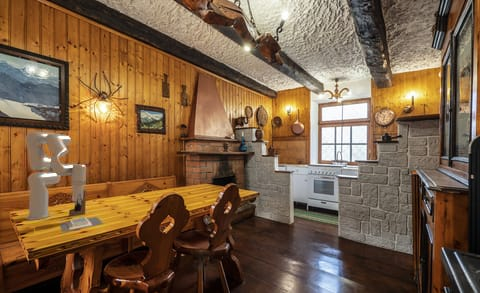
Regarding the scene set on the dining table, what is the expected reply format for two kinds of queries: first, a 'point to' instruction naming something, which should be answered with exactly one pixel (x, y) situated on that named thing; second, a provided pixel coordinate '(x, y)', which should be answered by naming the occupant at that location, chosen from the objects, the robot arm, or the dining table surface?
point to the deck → (79, 222)
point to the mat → (92, 222)
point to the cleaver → (83, 204)
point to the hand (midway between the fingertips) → (77, 210)
